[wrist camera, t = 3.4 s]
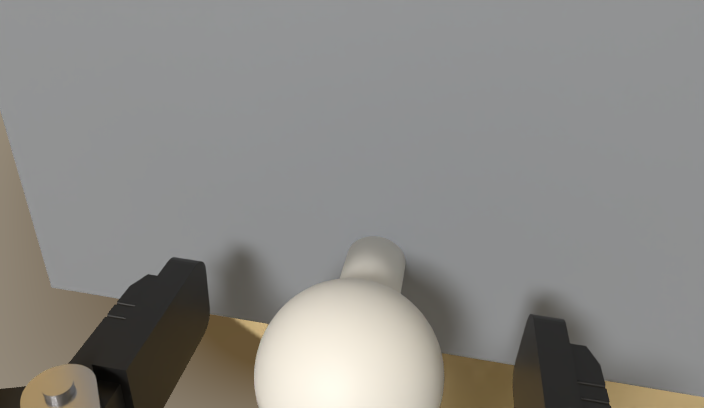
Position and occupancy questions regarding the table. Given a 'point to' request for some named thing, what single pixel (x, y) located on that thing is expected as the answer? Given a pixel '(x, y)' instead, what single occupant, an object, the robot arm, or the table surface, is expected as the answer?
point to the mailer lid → (377, 176)
